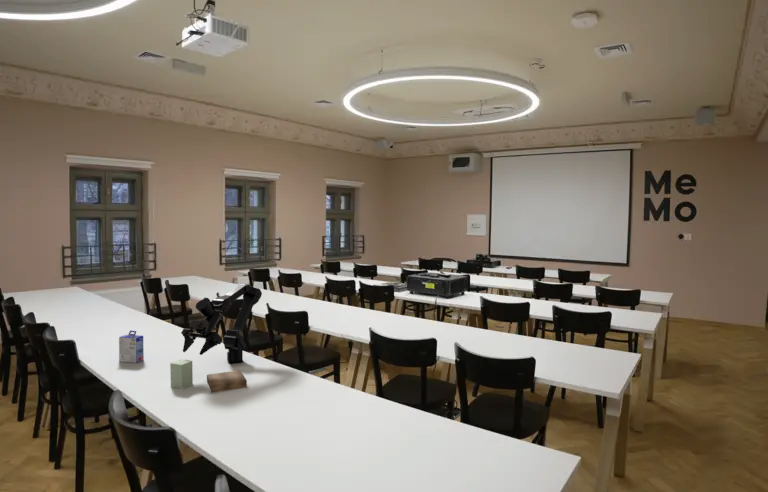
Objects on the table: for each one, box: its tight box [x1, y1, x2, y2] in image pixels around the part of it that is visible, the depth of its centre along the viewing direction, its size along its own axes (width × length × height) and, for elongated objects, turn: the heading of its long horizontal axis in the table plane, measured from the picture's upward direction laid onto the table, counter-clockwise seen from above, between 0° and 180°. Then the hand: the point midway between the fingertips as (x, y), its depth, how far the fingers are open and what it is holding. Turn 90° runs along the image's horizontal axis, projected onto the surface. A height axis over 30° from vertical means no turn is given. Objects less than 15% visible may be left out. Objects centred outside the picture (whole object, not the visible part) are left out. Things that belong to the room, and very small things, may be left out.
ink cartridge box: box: [118, 330, 145, 364], centre depth 232 cm, size 10×6×14 cm, turn 78°
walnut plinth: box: [206, 369, 248, 394], centre depth 203 cm, size 14×14×3 cm
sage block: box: [169, 358, 194, 390], centre depth 201 cm, size 6×6×10 cm
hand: (191, 353), depth 206 cm, fingers open, 9 cm apart
